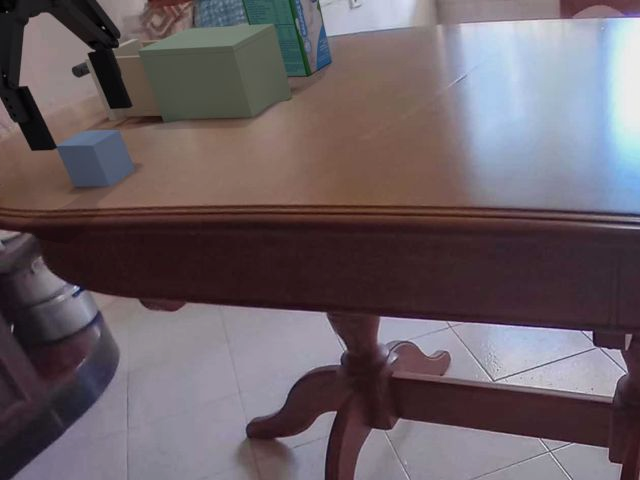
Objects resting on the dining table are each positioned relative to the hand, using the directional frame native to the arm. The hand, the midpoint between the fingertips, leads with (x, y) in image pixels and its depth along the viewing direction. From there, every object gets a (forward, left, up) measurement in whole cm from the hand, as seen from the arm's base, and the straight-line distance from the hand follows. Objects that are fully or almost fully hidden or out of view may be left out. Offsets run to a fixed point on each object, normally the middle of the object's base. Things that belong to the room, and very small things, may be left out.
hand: (85, 127), depth 81 cm
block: (0, 0, -7) cm, 7 cm away
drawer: (+4, +29, -6) cm, 30 cm away
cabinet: (+15, +23, -7) cm, 28 cm away
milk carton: (+27, +42, -7) cm, 50 cm away
